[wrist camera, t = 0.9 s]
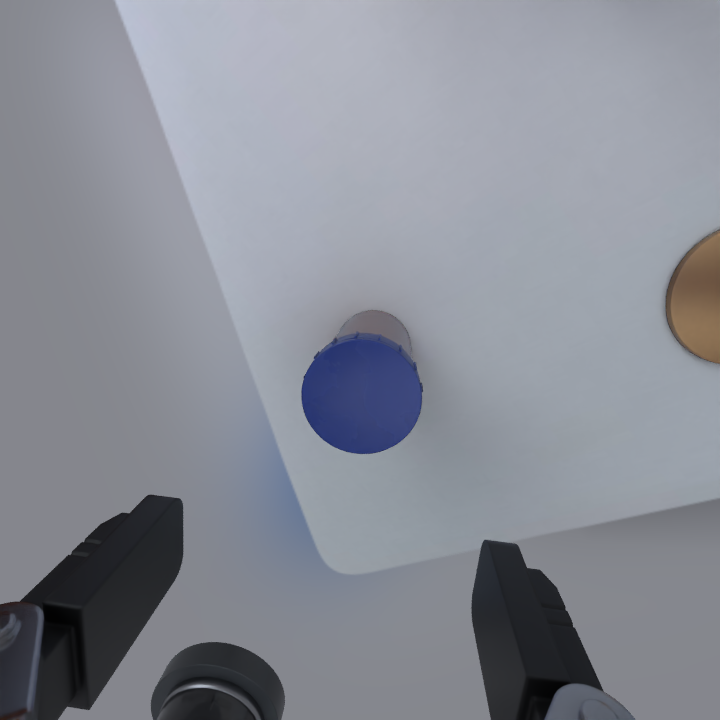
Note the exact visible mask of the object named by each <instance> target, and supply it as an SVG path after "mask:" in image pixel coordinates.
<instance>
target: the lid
mask: <svg viewBox="0 0 720 720" xmlns="http://www.w3.org/2000/svg"><path fill="white" fill-rule="evenodd" d="M381 335H382V334H379V335H377V334H372V333H359V332H358V331H357V332H356V333H353V334H349V335H345V336H342V337H340V338H338V339H337V338H334V340H333V341H332V342H331V343H329V344H328V345H327V346H326V347H324V348H323V349H322V350H321V352H319V351H318V353H317V354H316V355H315V357H314V361H313V362H312V364H311V365H310V367H309V369H308V370H307V373H306V374H305V376H304V381H303V385H302V405H303V409H304V413H305V415H306V418H307V420H308V422H309V424H310V425H311V427H312V428H313V429H314V431H315V432H316V433H317V434H318V435H319V436H320V437H321V438H322V439H323V440H324V441H326V442H327V443H329V444H330V445H332V446H334V447H336V448H338V449H340V450H343V451H346V452H351V453H357V454H370V453H376V452H380V451H383V450H386V449H388V448H391V447H393V446H394V445H396V444H397V443H399V442H400V441H401V440H403V439H404V438H405V437H406V436H407V435H408V434H409V433H410V431H411V430H412V429H413V427H414V425H415V424H416V422H417V420H418V417H419V414H420V410H421V405H422V392H423V387H422V383H420V378H419V374H418V371H417V366H416V362H413V360H412V359H411V357H410V356H409V355H408V353H407V352H406V351H405V350H404V349H403V348H402V345H401V344H400V345H398V344H397V343H395V342H394V341H392V340H390V339H388V338H386V337H383V336H381Z"/></svg>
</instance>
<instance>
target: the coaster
mask: <svg viewBox="0 0 720 720" xmlns="http://www.w3.org/2000/svg"><path fill="white" fill-rule="evenodd" d="M666 313H667V319H668V323H669V325H670V328H671V330H672V332H673V334H674V336H675V337H676V339H677V340H678V341H679V342H680V344H681V345H682V346H683V347H685V348H686V349H687V350H688V351H690V352H691V353H693V354H694V355H696V356H698V357H700V358H702V359H705V360H708V361H711V362H714V363H718V364H720V230H718V231H716V232H714V233H712V234H711V235H709V236H707V237H706V238H704V239H703V240H702V241H700V242H699V243H698V244H697V245H695V246H694V247H693V248H692V249H691V250H690V251H689V252H688V253H687V254H686V256H685V257H684V258H683V259H682V261H681V262H680V264H679V265H678V267H677V268H676V270H675V272H674V274H673V276H672V278H671V281H670V284H669V287H668V291H667V296H666Z"/></svg>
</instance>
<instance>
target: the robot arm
mask: <svg viewBox="0 0 720 720" xmlns="http://www.w3.org/2000/svg"><path fill="white" fill-rule="evenodd" d="M182 558H183V503H182V501H181V499H179V498H172V497H164V496H157V495H148V496H146V497H145V498H144V499H143V500H142V501H141V502H140V503H139V504H138V505H137V506H136V507H135V508H134V509H133V510H132V512H131V513H121V514H119V515H117V516H115V517H113V518H111V519H110V520H108V521H106V522H104V523H102V524H100V525H99V526H98V527H97V528H96V529H95V530H94V531H93V532H92V533H91V534H90V535H89V536H88V537H87V538H86V539H85V541H84V542H82V543H80V544H79V545H78V546H77V547H76V548H75V549H74V550H73V551H72V554H71V555H68V556H67V557H66V558H65V559H64V560H63V561H62V562H61V563H59V564H58V566H56V567H55V568H54V569H53V570H52V571H51V572H50V573H49V574H48V575H47V576H46V577H45V578H44V579H43V580H42V581H41V582H40V583H39V584H37V585H36V586H35V587H34V588H33V589H32V590H31V591H30V592H29V593H28V594H27V595H26V596H25V597H24V598H23V599H22V600H21V601H20V602H10V603H4V604H0V720H58V718H59V717H60V716H61V714H62V713H63V711H64V710H65V709H66V707H74V708H80V709H86V710H90V708H91V707H92V705H93V704H94V702H95V701H96V699H97V698H98V696H99V694H100V693H101V691H102V690H103V688H104V687H105V685H106V684H107V682H108V681H109V679H110V678H111V676H112V675H113V673H114V672H115V670H116V668H117V667H118V666H119V664H120V662H121V661H122V659H123V658H124V657H125V655H126V654H127V652H128V650H129V649H130V647H131V646H132V644H133V643H134V641H135V640H136V638H137V637H138V635H139V634H140V632H141V631H142V629H143V628H144V626H145V625H146V623H147V621H148V620H149V619H150V617H151V615H152V614H153V613H154V611H155V609H156V608H157V606H158V605H159V603H160V602H161V600H162V599H163V597H164V596H165V594H166V593H167V591H168V590H169V588H170V587H171V585H172V584H173V582H174V581H175V579H176V577H177V575H178V573H179V570H180V567H181V563H182ZM472 622H473V628H474V633H475V638H476V643H477V649H478V654H479V659H480V665H481V670H482V675H483V680H484V685H485V690H486V696H487V701H488V706H489V712H490V717H491V720H635V718H634V717H633V716H632V715H631V713H630V712H629V711H628V710H627V709H626V708H625V707H624V706H623V705H622V704H621V703H619V702H618V701H617V700H616V699H614V698H613V697H611V696H610V695H608V694H607V693H605V692H604V691H603V689H602V687H601V684H600V682H599V680H598V678H597V676H596V673H595V671H594V669H593V667H592V665H591V662H590V660H589V658H588V656H587V654H586V651H585V649H584V647H583V645H582V643H581V640H580V638H579V636H578V634H577V631H576V629H575V628H574V627H573V623H572V620H571V618H570V616H569V614H568V612H567V611H566V610H565V605H564V603H563V601H562V598H561V596H560V594H559V592H558V590H557V588H556V586H555V585H554V584H553V583H552V582H551V581H550V580H549V579H548V578H547V577H546V576H545V575H544V574H543V573H542V571H540V570H537V569H530V568H527V567H526V564H525V562H524V559H523V557H522V554H521V552H520V549H519V547H518V545H517V544H513V543H506V542H498V541H491V540H484V541H483V543H482V547H481V551H480V557H479V562H478V568H477V573H476V578H475V583H474V588H473V594H472ZM157 720H264V717H263V713H262V711H261V709H260V707H259V705H258V703H257V702H256V701H255V699H254V698H253V697H252V696H251V695H250V694H249V693H248V692H246V691H245V690H244V689H242V688H241V687H239V686H237V685H235V684H233V683H231V682H229V681H226V680H223V679H219V678H213V677H197V678H192V679H188V680H185V681H183V682H181V683H179V684H178V685H176V686H175V687H174V688H173V689H172V690H171V691H170V692H169V694H168V695H167V697H166V699H165V701H164V703H163V705H162V707H161V710H160V713H159V716H158V718H157Z"/></svg>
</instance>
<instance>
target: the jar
mask: <svg viewBox="0 0 720 720" xmlns="http://www.w3.org/2000/svg"><path fill="white" fill-rule="evenodd" d="M357 331H358V332H359V333H372V334H377V335H379V334H382V335H381V336H383V337H386V338H388V339H390V340H392V341H394V342H395V343H397V344H398V345H400V344H401V345H402V348H403V349H404V350H405V351H406V352H407V353H408V355H409V356H410V357H411V359H412V352H411V343H410V338H409V335H408V332H407V330H406V328H405V327H404V325H403V324H402V323H401V322H400V321H399V320H398V319H397V318H396V317H394V316H392V315H391V314H388V313H386V312H383V311H377V310H370V311H364V312H361V313H358V314H356V315H354V316H353V317H351V318H350V319H349V320H348V321H346V323H345V324H344V325H343V326H342V328H341V329H340V331H339V333H338V334H337V336H336V337H335V338H337V339H338V338H340V337H342V336H345V335H349V334H353V333H356V332H357Z"/></svg>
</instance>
